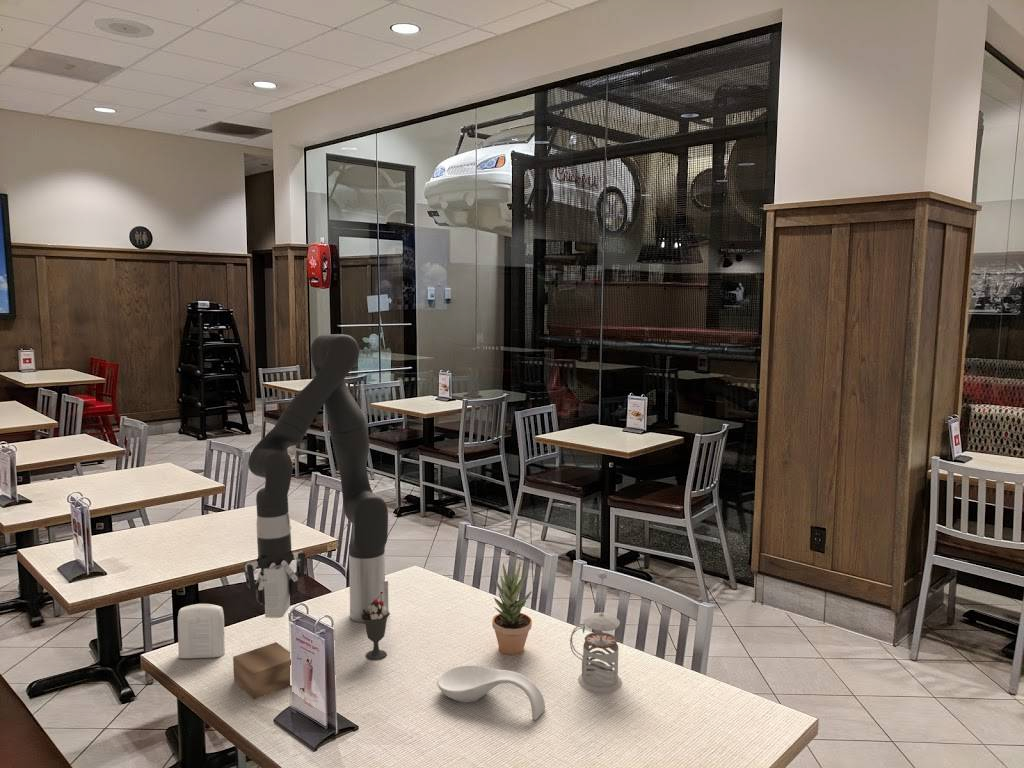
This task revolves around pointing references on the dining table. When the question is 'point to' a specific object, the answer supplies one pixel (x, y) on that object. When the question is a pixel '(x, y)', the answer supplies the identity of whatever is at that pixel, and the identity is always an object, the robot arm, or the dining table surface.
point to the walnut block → (262, 670)
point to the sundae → (375, 627)
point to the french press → (597, 672)
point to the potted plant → (511, 614)
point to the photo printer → (201, 631)
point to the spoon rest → (486, 685)
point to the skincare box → (276, 592)
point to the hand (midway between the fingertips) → (277, 599)
